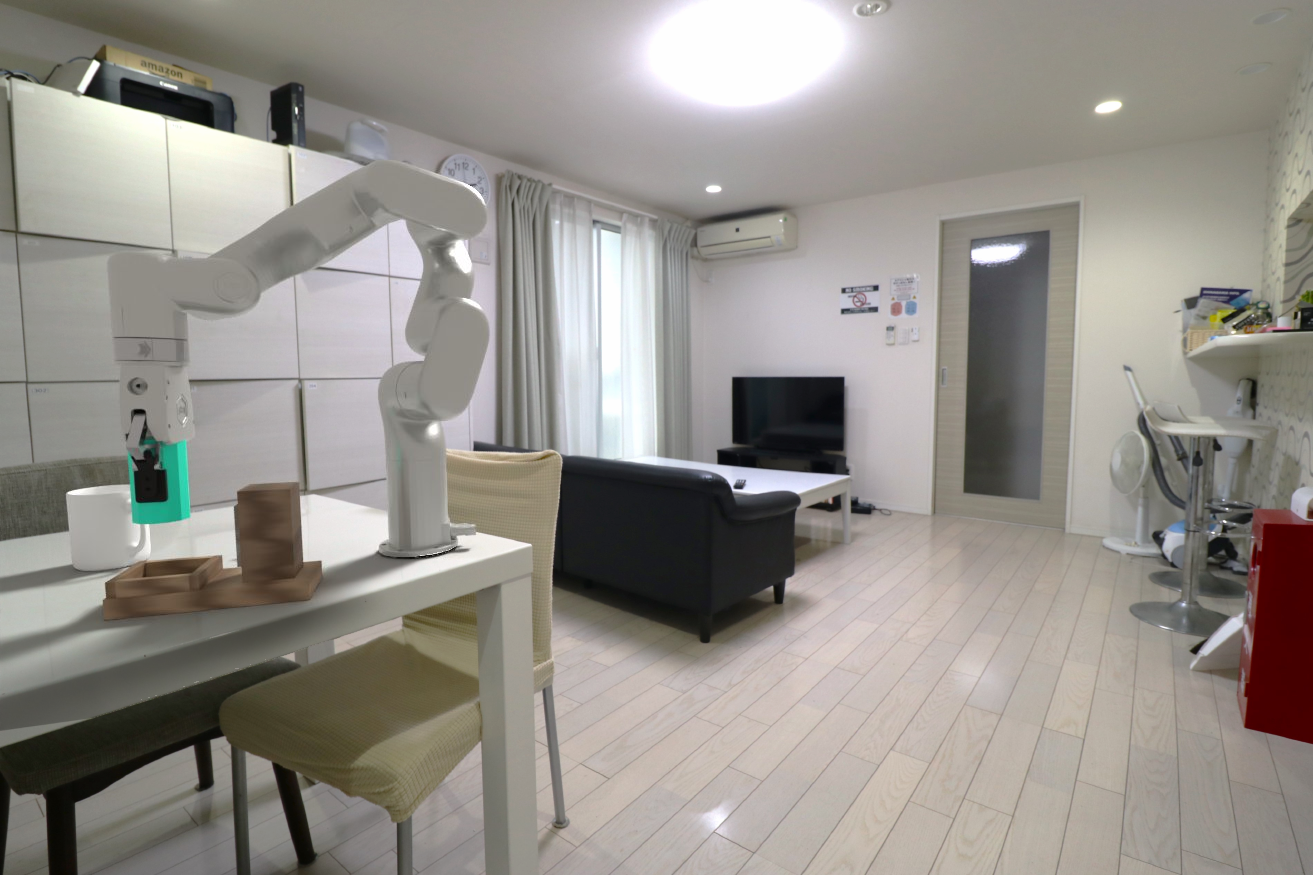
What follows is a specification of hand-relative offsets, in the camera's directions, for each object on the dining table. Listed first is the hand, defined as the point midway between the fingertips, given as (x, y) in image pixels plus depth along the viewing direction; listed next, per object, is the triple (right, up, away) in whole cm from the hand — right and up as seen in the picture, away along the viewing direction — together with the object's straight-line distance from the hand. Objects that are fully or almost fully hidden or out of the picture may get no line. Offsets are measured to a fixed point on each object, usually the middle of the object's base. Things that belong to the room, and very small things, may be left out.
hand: (161, 496), depth 82 cm
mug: (-21, -12, +18) cm, 30 cm away
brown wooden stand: (+6, -14, +3) cm, 15 cm away
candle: (0, -3, 0) cm, 3 cm away
